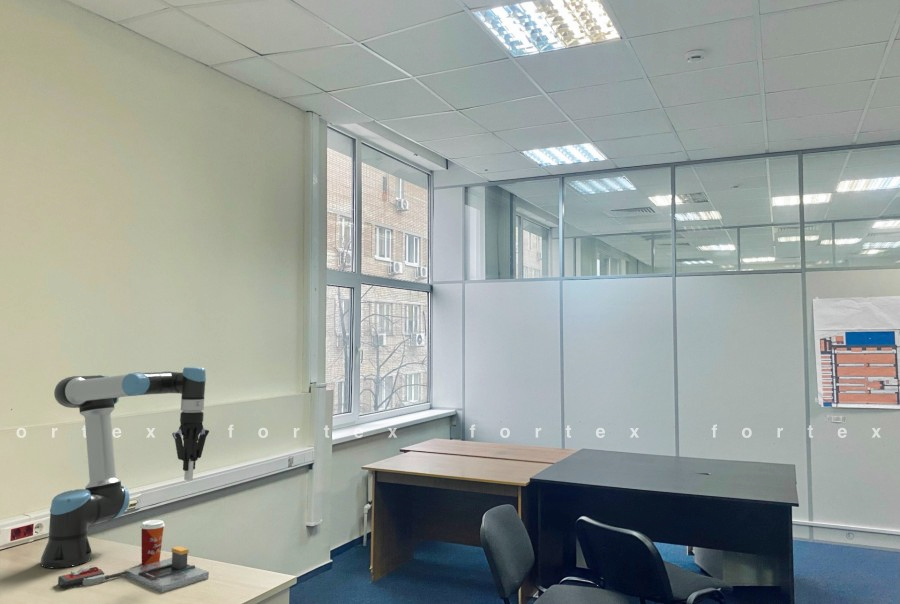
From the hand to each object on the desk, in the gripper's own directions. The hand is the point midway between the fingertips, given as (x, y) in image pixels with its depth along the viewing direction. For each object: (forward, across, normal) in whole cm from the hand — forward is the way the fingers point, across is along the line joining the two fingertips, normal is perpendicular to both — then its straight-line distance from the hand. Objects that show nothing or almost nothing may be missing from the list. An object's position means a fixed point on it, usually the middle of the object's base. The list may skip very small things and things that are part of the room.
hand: (188, 479), depth 216 cm
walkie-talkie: (+30, -25, +11) cm, 40 cm away
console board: (+29, -9, -5) cm, 31 cm away
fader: (+27, -5, -5) cm, 28 cm away
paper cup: (+30, -5, +12) cm, 32 cm away
